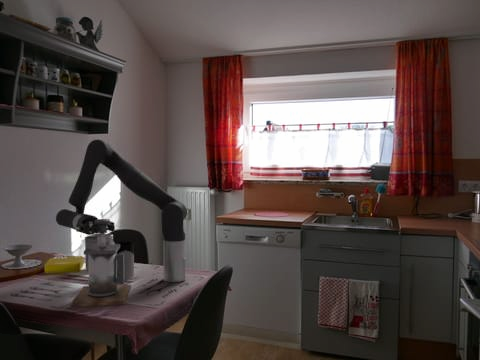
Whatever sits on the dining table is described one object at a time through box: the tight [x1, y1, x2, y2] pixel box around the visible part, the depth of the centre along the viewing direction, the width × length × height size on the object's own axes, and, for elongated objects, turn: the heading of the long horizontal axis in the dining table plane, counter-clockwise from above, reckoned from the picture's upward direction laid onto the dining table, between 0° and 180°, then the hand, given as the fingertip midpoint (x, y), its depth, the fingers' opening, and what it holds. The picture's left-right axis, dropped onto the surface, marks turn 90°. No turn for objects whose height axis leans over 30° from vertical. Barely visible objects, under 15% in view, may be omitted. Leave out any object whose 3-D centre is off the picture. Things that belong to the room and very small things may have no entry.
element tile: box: [44, 255, 84, 275], centre depth 190 cm, size 15×15×5 cm
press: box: [83, 243, 125, 298], centre depth 151 cm, size 13×11×17 cm
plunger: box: [95, 218, 111, 248], centre depth 150 cm, size 5×5×11 cm
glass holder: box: [115, 241, 136, 282], centre depth 179 cm, size 9×14×15 cm, turn 20°
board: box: [71, 284, 132, 308], centre depth 152 cm, size 18×18×2 cm
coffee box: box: [84, 233, 100, 273], centre depth 188 cm, size 9×6×16 cm
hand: (105, 229), depth 149 cm, fingers open, 5 cm apart
